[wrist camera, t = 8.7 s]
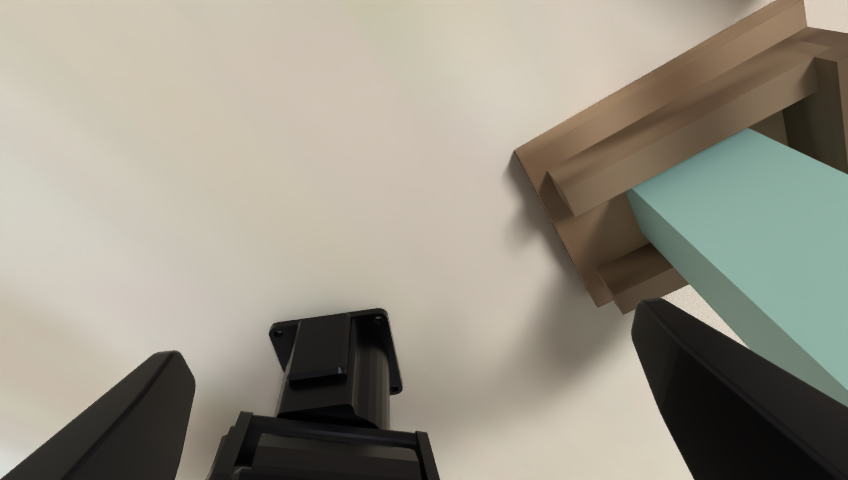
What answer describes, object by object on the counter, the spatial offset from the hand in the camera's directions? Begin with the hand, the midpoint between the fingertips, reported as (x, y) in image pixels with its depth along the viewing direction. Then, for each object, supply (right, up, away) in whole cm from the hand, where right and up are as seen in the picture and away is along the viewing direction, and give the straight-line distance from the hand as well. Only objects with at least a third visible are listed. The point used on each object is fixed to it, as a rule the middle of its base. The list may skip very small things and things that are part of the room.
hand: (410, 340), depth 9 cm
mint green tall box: (+12, +5, +12) cm, 18 cm away
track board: (+12, +5, +13) cm, 19 cm away
